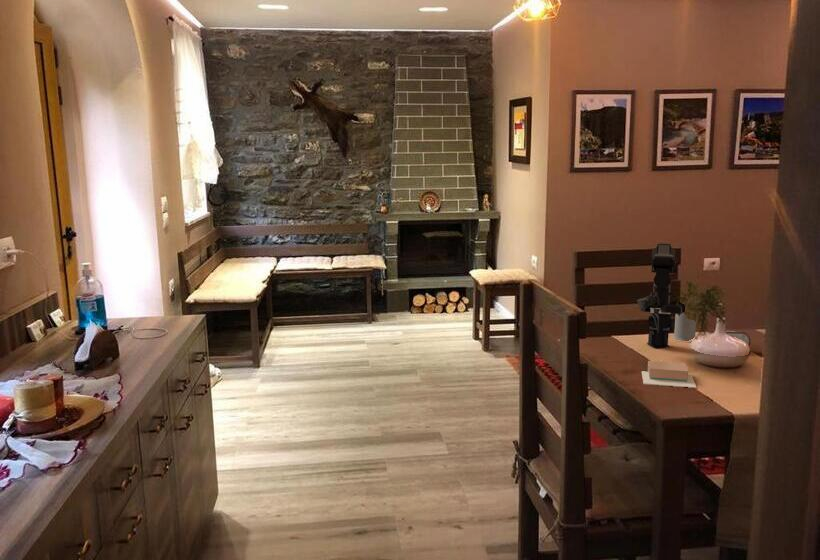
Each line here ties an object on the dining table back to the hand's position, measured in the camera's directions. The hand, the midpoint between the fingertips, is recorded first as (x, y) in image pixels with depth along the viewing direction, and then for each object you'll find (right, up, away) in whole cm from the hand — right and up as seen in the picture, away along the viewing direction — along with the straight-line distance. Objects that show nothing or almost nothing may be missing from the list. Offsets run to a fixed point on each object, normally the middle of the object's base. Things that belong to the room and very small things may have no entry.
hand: (659, 332), depth 242 cm
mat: (-5, -14, -20) cm, 25 cm away
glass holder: (+21, -5, +32) cm, 39 cm away
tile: (-3, -10, -14) cm, 17 cm away
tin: (+31, -8, +11) cm, 34 cm away
